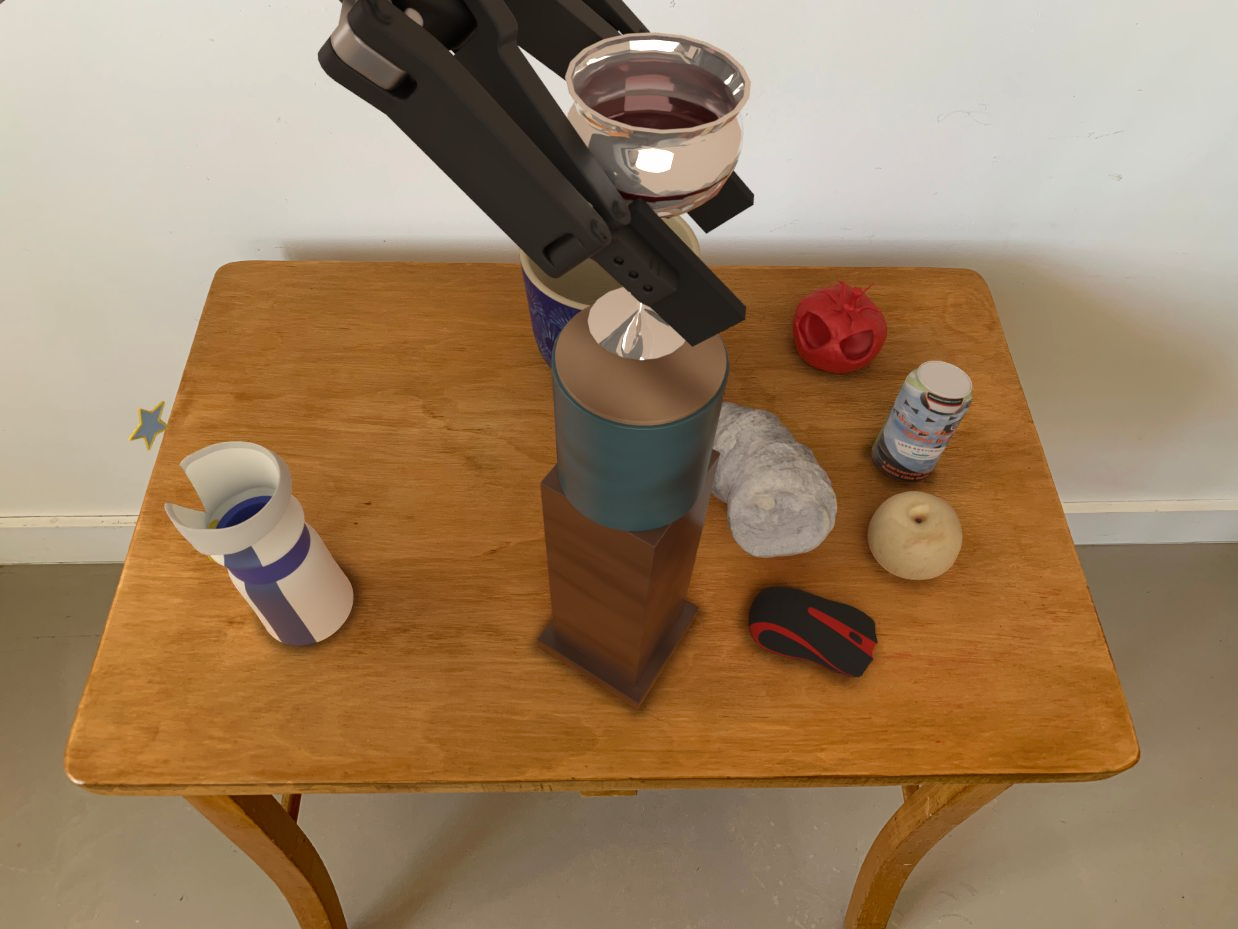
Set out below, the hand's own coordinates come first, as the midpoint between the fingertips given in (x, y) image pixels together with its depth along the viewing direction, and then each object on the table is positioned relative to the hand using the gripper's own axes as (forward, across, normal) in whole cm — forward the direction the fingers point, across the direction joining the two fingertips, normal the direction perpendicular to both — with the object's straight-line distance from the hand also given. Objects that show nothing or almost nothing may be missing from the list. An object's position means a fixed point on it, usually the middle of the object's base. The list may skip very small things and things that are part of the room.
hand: (724, 266), depth 35 cm
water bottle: (+8, +2, -51) cm, 51 cm away
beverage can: (+45, -22, -13) cm, 52 cm away
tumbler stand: (+27, 0, -31) cm, 41 cm away
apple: (+44, -12, -14) cm, 48 cm away
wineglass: (0, 0, -5) cm, 5 cm away
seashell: (+33, -16, -25) cm, 44 cm away
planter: (+23, -31, -35) cm, 52 cm away
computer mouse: (+38, -2, -20) cm, 43 cm away
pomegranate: (+40, -36, -18) cm, 57 cm away
